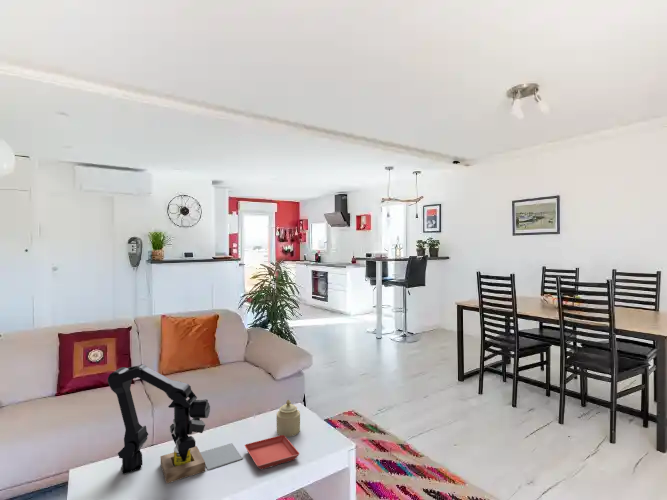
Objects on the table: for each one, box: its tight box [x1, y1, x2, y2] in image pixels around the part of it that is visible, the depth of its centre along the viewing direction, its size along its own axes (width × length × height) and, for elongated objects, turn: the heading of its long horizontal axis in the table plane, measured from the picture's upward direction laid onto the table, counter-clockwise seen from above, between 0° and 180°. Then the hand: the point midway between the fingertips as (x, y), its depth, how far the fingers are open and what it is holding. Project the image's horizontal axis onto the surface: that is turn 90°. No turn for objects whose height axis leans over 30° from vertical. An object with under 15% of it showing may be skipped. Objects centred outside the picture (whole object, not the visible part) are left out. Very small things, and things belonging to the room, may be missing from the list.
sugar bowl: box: [276, 399, 301, 438], centre depth 181 cm, size 15×11×15 cm
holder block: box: [159, 445, 206, 484], centre depth 150 cm, size 14×14×4 cm
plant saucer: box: [244, 435, 300, 470], centre depth 159 cm, size 18×18×3 cm
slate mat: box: [200, 442, 244, 471], centre depth 158 cm, size 14×14×1 cm
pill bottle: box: [173, 439, 191, 467], centre depth 150 cm, size 6×6×11 cm
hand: (182, 456), depth 150 cm, fingers closed on pill bottle, 6 cm apart
